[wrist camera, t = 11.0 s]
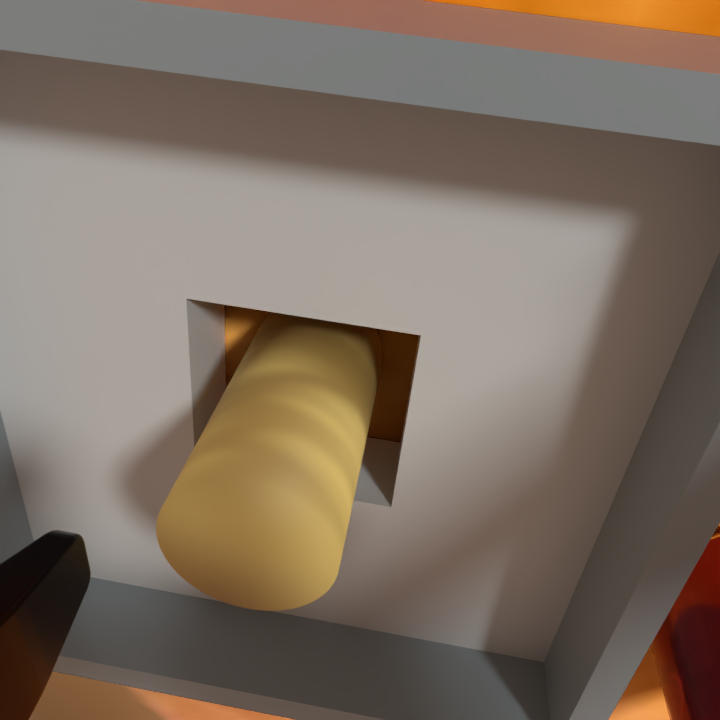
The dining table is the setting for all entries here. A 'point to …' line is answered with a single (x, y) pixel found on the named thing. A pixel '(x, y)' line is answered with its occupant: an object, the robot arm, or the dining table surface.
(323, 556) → the yellow peg
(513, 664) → the slate box
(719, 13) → the dining table surface
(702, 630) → the soda can
